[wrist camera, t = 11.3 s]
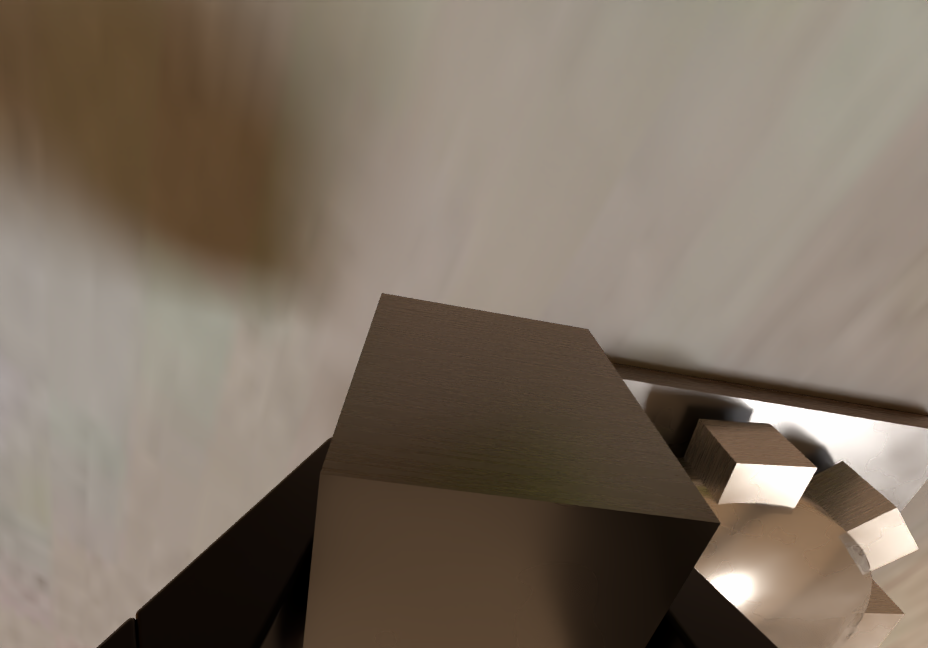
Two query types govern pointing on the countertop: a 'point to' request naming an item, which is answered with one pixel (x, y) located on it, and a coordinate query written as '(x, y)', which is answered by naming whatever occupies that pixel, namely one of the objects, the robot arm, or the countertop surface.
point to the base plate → (793, 426)
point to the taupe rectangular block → (495, 493)
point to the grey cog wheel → (795, 538)
